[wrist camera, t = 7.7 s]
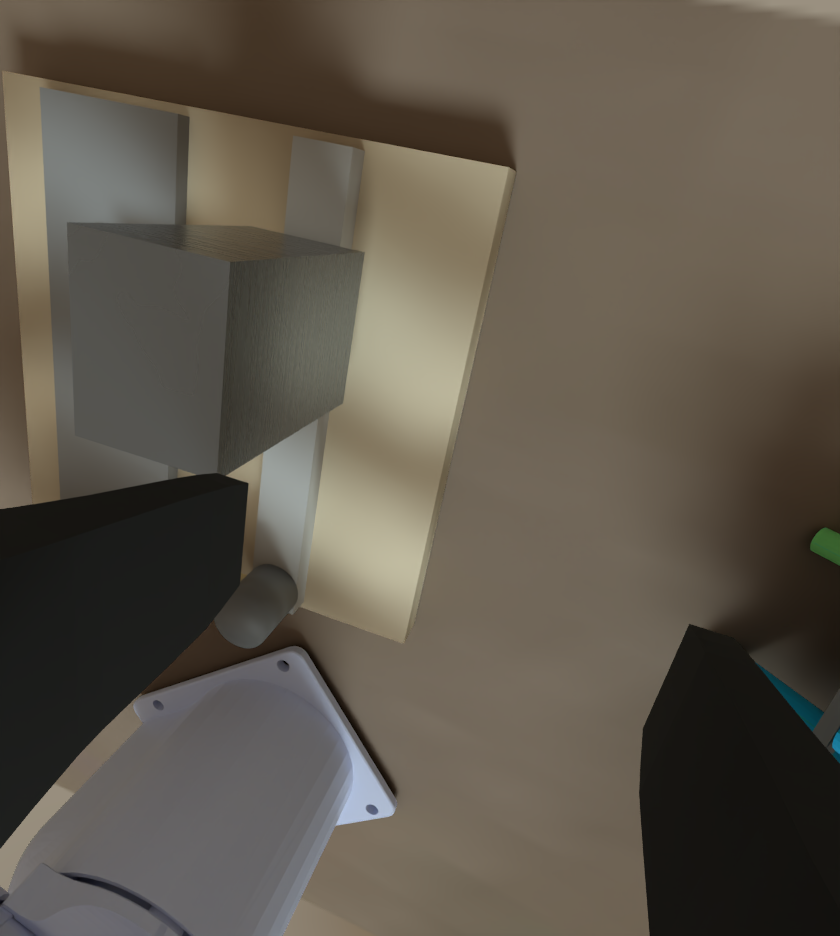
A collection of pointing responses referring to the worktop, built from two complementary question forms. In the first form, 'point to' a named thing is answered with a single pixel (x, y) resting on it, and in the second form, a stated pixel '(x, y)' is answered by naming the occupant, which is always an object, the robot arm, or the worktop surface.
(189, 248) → the grey rectangular block
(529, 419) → the worktop surface
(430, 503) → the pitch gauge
